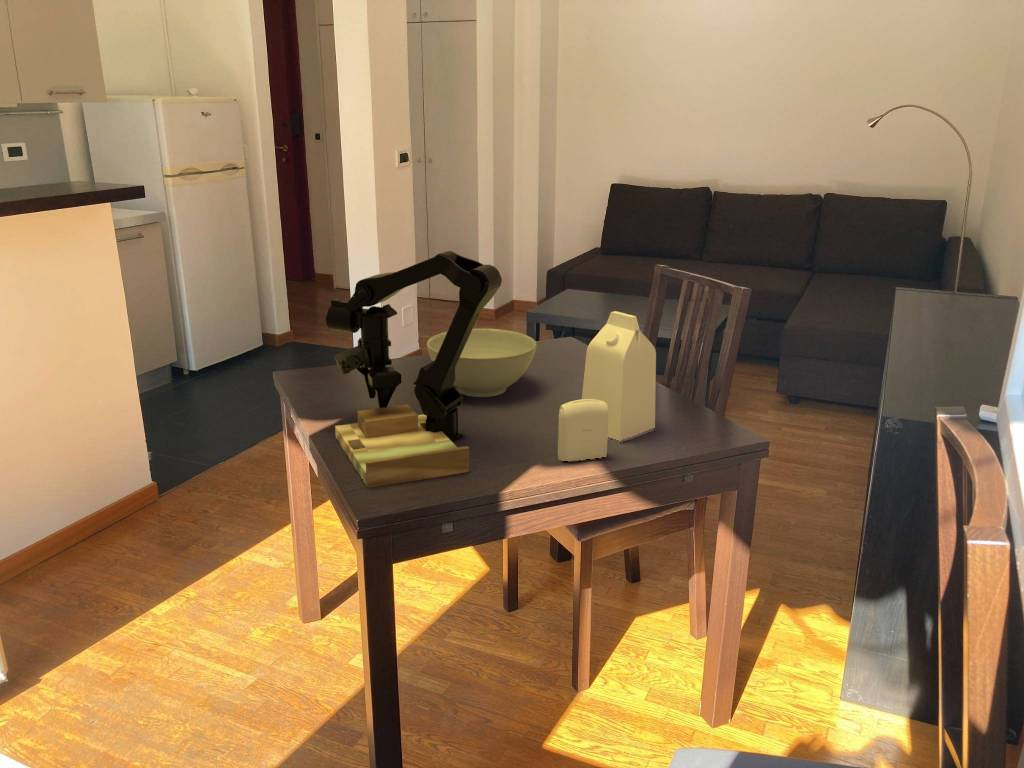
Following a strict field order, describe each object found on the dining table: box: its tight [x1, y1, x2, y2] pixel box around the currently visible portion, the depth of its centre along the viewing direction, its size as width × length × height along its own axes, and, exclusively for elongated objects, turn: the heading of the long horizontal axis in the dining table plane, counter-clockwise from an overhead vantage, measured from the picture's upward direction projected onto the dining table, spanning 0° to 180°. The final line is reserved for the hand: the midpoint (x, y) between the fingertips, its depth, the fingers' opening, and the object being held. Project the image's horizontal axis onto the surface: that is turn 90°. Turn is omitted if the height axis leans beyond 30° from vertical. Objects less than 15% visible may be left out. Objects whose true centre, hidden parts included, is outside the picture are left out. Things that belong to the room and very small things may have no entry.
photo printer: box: [557, 398, 609, 462], centre depth 172 cm, size 10×4×12 cm, turn 104°
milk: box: [581, 310, 657, 441], centre depth 185 cm, size 12×12×26 cm
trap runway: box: [334, 413, 470, 489], centre depth 174 cm, size 27×20×5 cm
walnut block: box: [357, 404, 419, 438], centre depth 180 cm, size 7×11×4 cm, turn 114°
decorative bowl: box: [426, 328, 538, 398], centre depth 212 cm, size 27×27×12 cm
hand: (377, 404), depth 187 cm, fingers open, 8 cm apart
